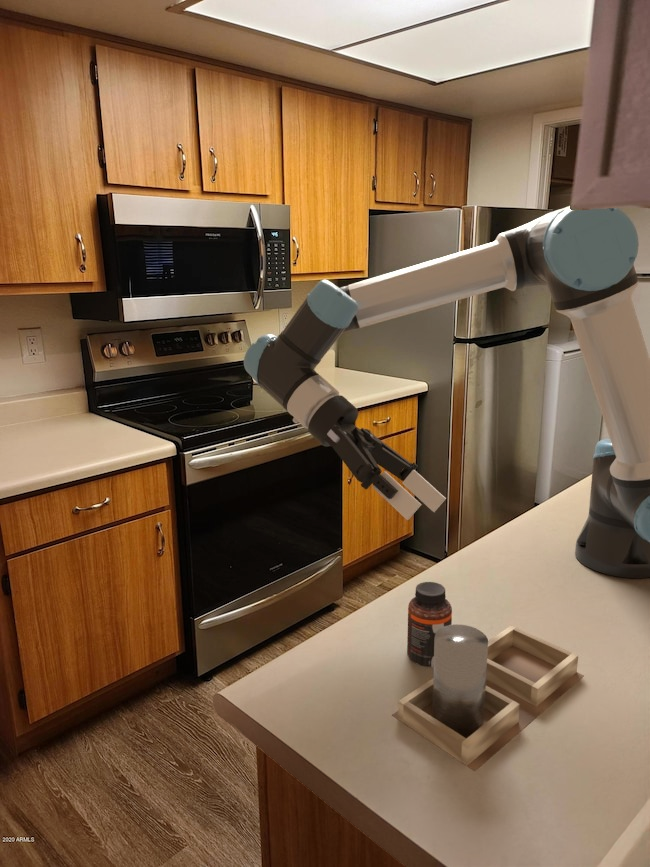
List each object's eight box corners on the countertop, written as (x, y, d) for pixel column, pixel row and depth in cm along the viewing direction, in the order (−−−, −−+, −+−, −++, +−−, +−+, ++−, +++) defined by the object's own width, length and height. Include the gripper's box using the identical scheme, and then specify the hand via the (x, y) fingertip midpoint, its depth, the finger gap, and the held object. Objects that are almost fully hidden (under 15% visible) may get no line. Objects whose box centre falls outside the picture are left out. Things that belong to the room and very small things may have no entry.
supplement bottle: (449, 676, 86) (452, 601, 83) (405, 672, 87) (406, 597, 84) (450, 651, 91) (453, 579, 88) (408, 647, 92) (409, 576, 90)
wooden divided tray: (504, 645, 92) (505, 622, 91) (583, 683, 84) (585, 658, 83) (391, 723, 77) (392, 697, 76) (474, 780, 68) (475, 751, 67)
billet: (452, 697, 80) (455, 618, 77) (494, 721, 75) (498, 639, 73) (421, 719, 76) (423, 638, 73) (463, 746, 72) (466, 660, 69)
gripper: (340, 434, 108) (433, 520, 101) (269, 427, 86) (382, 538, 79) (368, 400, 107) (464, 485, 99) (302, 384, 84) (420, 493, 77)
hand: (428, 508), depth 89 cm, fingers open, 13 cm apart
